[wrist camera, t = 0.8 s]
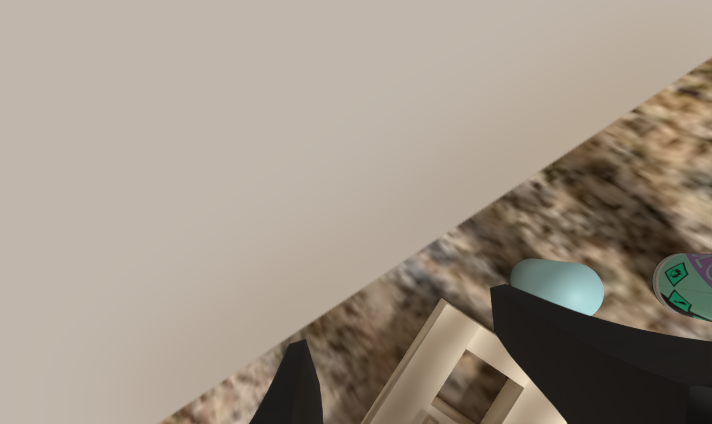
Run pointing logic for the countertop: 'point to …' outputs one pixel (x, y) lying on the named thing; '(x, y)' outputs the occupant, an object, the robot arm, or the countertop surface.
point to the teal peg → (560, 283)
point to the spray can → (685, 284)
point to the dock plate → (433, 366)
